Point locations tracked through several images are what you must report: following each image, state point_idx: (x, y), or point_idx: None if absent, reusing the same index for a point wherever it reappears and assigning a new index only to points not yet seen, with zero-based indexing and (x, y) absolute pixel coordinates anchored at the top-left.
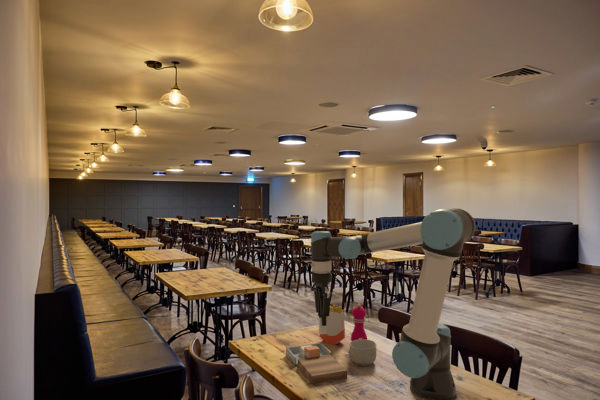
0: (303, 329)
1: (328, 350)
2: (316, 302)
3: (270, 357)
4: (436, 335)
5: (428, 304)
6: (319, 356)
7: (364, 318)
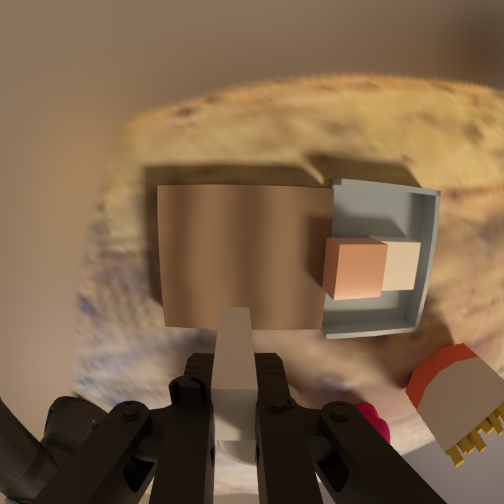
0: None
1: (348, 334)
2: (383, 501)
3: (425, 132)
4: None
5: None
6: (321, 284)
7: None
